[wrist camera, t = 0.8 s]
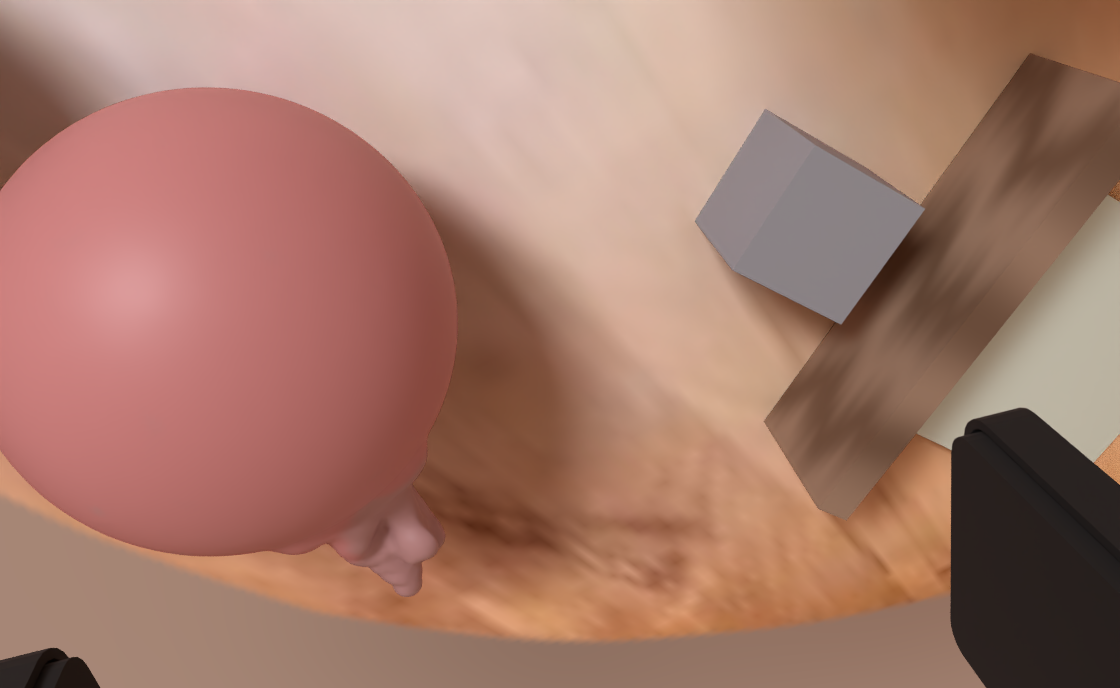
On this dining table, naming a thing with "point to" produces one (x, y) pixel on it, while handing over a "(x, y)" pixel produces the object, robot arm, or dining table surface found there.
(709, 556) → the dining table surface
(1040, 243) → the walnut screen
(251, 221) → the balloon
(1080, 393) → the display mat
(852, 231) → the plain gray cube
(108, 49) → the dining table surface
